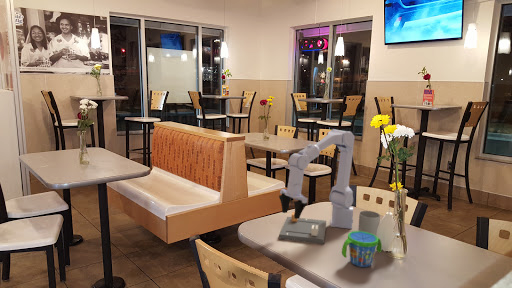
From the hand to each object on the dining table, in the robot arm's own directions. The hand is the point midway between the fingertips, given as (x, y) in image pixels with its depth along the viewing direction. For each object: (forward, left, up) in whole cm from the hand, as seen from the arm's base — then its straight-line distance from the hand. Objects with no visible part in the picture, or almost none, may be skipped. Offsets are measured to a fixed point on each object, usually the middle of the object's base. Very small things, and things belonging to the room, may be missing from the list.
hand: (290, 215), depth 148 cm
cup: (-32, -12, -10) cm, 36 cm away
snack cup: (-28, +13, -10) cm, 33 cm away
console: (-5, -9, -10) cm, 14 cm away
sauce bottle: (-38, 0, -10) cm, 39 cm away
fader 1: (0, -16, -8) cm, 17 cm away
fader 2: (-10, -3, -8) cm, 13 cm away
